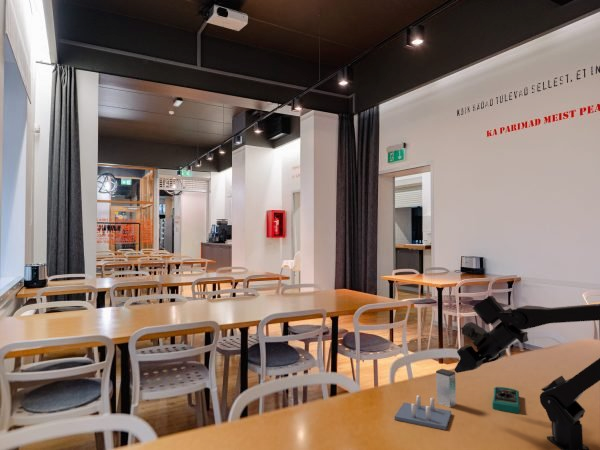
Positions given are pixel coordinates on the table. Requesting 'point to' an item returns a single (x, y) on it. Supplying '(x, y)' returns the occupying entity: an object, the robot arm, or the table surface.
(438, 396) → the plate
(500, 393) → the digital multimeter
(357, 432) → the table surface
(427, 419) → the grey pegged base
